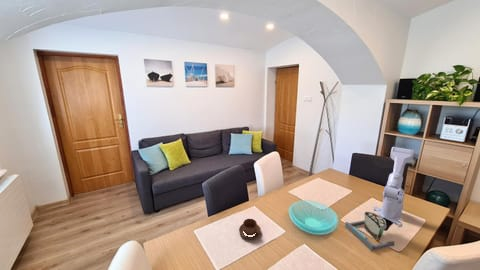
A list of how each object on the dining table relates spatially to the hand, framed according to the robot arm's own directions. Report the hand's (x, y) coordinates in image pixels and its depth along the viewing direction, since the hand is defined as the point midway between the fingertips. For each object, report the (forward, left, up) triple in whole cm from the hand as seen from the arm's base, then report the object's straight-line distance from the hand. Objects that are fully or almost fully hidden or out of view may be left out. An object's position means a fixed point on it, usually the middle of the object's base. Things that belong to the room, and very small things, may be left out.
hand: (384, 229), depth 103 cm
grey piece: (+9, 0, -2) cm, 10 cm away
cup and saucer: (+72, -17, -2) cm, 74 cm away
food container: (+6, 0, -2) cm, 6 cm away
